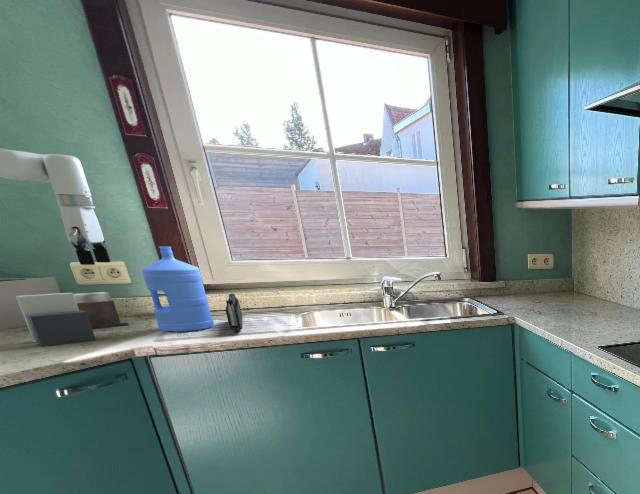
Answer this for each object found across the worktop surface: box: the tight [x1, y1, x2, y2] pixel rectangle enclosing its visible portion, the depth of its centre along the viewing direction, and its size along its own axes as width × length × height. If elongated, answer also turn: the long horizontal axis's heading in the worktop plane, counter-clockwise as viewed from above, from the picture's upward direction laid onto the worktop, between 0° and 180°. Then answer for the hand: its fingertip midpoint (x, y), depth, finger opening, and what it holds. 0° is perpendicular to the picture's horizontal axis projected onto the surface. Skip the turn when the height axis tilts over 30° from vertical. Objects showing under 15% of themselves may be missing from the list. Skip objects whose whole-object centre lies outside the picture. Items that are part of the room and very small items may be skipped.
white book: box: [15, 292, 79, 344], centre depth 154 cm, size 12×2×14 cm, turn 147°
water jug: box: [141, 245, 215, 333], centre depth 172 cm, size 16×16×28 cm
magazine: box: [225, 293, 244, 334], centre depth 181 cm, size 17×3×30 cm
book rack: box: [73, 291, 129, 330], centre depth 174 cm, size 14×12×11 cm
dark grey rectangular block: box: [27, 310, 97, 347], centre depth 152 cm, size 12×4×9 cm, turn 147°
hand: (96, 263), depth 149 cm, fingers open, 9 cm apart
